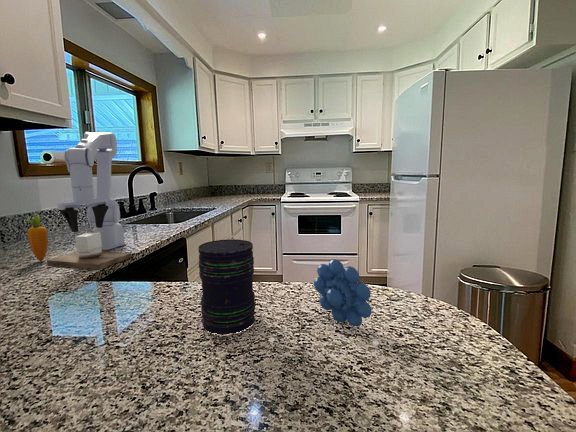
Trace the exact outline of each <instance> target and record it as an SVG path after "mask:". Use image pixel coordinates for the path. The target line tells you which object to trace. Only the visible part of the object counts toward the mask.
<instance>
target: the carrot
mask: <svg viewBox="0 0 576 432" xmlns="http://www.w3.org/2000/svg"><path fill="white" fill-rule="evenodd" d="M41 221H42V218H41V216H39V215H34V217H32V218H31V220H30V219H26V220H25V222H27V223H28V224H31V225H32V226H31V227H30V228H28V229H27V232H26V234H27V239H28V243H29V247H30V249H31V251H32V253H33V255H34V256H35V258H36V259H37V260H38V261H39V262H43V260H45V257H46V255H47V252H48V246H49V239H48V238H49V235H48V229H47V228H46V227H45V226H40V223H41Z"/></svg>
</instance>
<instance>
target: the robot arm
mask: <svg viewBox="0 0 576 432" xmlns="http://www.w3.org/2000/svg"><path fill="white" fill-rule="evenodd" d="M116 136H117V135H115V133H114V132H89V131H85V132H84V134H83V138H81V140H80V141H79V142H78V143H77V144H76V145H75V146H74V147H70V148H68V149H65V151H64V163H65V164H66V167H67V171H68V173H69V177H70V185H71V193H72V194H71V195H72V200H73V201H65V202H64V201H63V202H58V203H57V204H56V205H57V210H58V211H59V212H60V214H61V215H62V216H63V217H64V218H65V220H66V222H67V224H68V225H69V228H70V231H71V232H72V233H79V224H78V216H79V210H78V209H79V208H80V209H81V208H87V207H88V208H87V212H86V217H87V218H86V219H87V221H88V223H89V224H90V225H92V226H93V232H100V233H101V243H102V247H101V249H102V251H109V250H111V249H115V248H119V247H121V246H125V245H127V242H125V232H124V230H125V229H124V227H123V225H122V224H121V223H120V220H121V211H120V205H119V204H118V202H117V201H115V200H114V199H112V162H113V159H114V158H115V157H117V152H118V144H117V143H118V142H117V137H116ZM95 159H96V196H95V186H94V179H93V178H94V177H93V168H92V167H93V166H94V164H95ZM76 209H77V210H76Z"/></svg>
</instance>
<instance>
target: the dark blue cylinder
mask: <svg viewBox="0 0 576 432" xmlns="http://www.w3.org/2000/svg"><path fill="white" fill-rule="evenodd" d="M253 249H254V246H253V243H252V242H251V241H249V240H245V239H229V238H228V239H219V240H217V239H216V240H211V241H207V242H204V243H201V244H200V245H198V253H199V254H198V269H199V273H198V274H199V278H200V280H201V293H202V294H201V295H202V296H201V297H200V305H201V307H200V309H201V310H200V311H201V313H200V314H201V318H202V328H203V327H204V328H205V329H206V330H207V331H209V332H211V333H217V334H229V333H236V332H240V331H242V330H244V329H246V328H248V327H249V326H251V325H252V324H253V323H254V321H255V322H256V317H255V312H256V295H255V291H254V288H253V287H254V286H253V283H254V281H253V280H254V279H253V275H254V274H255V272H254V271H255V267H254V266H255V265H254V264H255V261H254V260H255V257H254V251H253ZM254 324H255V323H254Z"/></svg>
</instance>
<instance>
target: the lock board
mask: <svg viewBox="0 0 576 432" xmlns="http://www.w3.org/2000/svg"><path fill="white" fill-rule="evenodd" d="M132 257H133V256H132V252H123V251H111V250H110V251H109V250H102V255H100V256H97V257H93V258H79V257H78V253H77V251H75V252H72V253H67V254H65V255H60V256H57V257H54V258H53V257H52V258H49V259H47V260H46V264H47V265H48V266H57V267H66V268H77V267H79V269H80V268H81V269H88V268H93V269H92V270H101V269H104V268H106V267H109V266H111V265H114V264H117V263H121V262H122V261H123V262H124V261H125V260H129V259H131V258H132ZM100 268H101V269H100Z"/></svg>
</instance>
